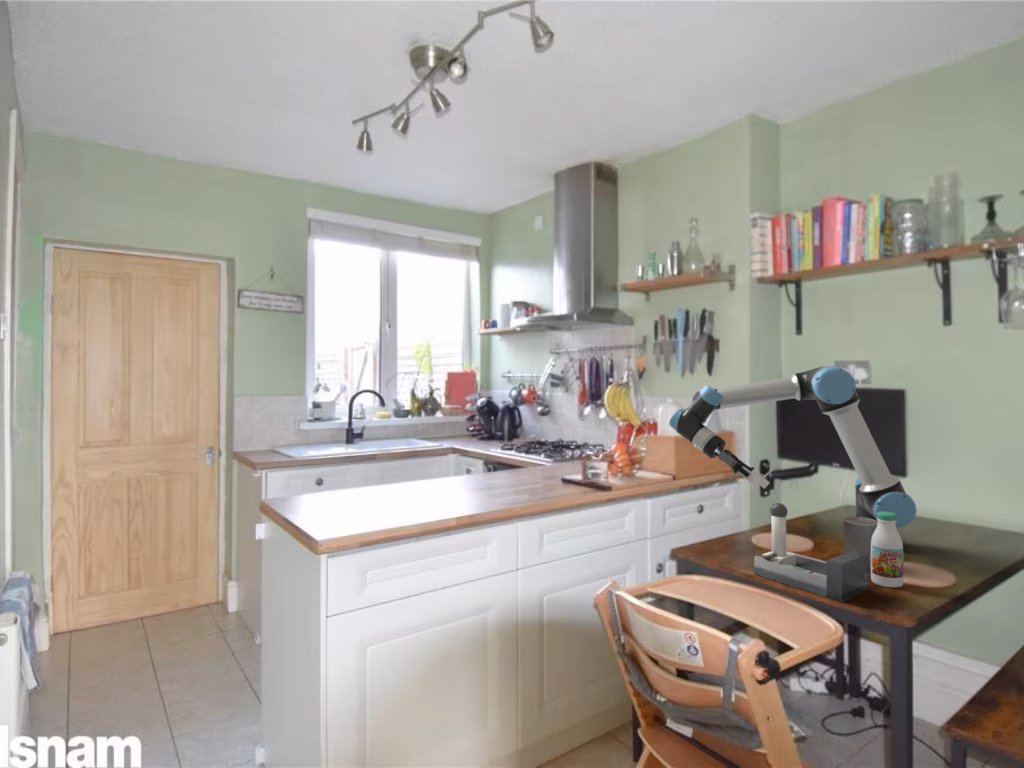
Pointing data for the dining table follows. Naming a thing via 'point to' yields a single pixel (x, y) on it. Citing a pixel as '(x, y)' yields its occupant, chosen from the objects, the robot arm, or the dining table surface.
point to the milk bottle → (886, 552)
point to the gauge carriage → (779, 536)
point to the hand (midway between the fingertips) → (762, 484)
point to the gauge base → (821, 574)
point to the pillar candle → (858, 535)
